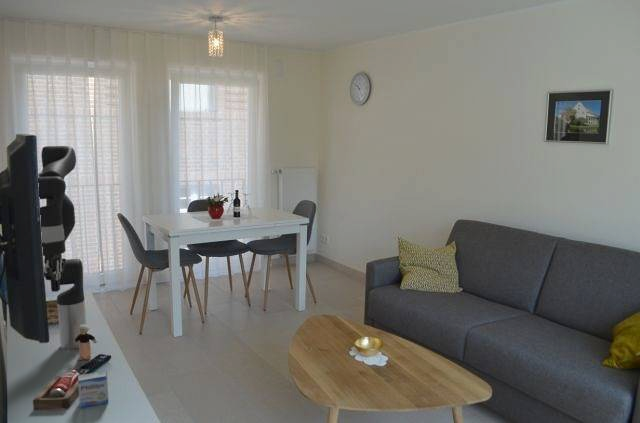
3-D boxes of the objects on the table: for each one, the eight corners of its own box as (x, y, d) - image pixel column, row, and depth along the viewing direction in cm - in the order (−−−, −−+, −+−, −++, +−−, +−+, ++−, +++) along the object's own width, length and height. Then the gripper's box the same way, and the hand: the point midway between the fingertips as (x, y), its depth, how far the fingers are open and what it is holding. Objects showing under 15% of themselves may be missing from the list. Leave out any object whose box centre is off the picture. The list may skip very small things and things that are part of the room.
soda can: (77, 387, 165) (61, 407, 153) (61, 381, 164) (44, 400, 153) (83, 373, 164) (68, 392, 153) (67, 367, 164) (51, 385, 152)
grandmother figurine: (74, 362, 181) (71, 328, 179) (74, 357, 184) (72, 324, 182) (97, 358, 184) (95, 324, 182) (98, 354, 187) (95, 321, 185)
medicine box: (79, 409, 151) (77, 381, 149) (80, 401, 155) (78, 374, 153) (108, 403, 154) (106, 376, 152) (108, 396, 158) (106, 369, 156)
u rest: (56, 385, 165) (55, 376, 164) (87, 384, 165) (86, 375, 165) (33, 409, 150) (32, 400, 150) (68, 408, 151) (67, 399, 150)
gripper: (49, 234, 171) (53, 285, 174) (29, 243, 158) (34, 297, 161) (72, 234, 171) (76, 284, 174) (54, 243, 158) (58, 297, 161)
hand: (55, 290), depth 167 cm, fingers closed
